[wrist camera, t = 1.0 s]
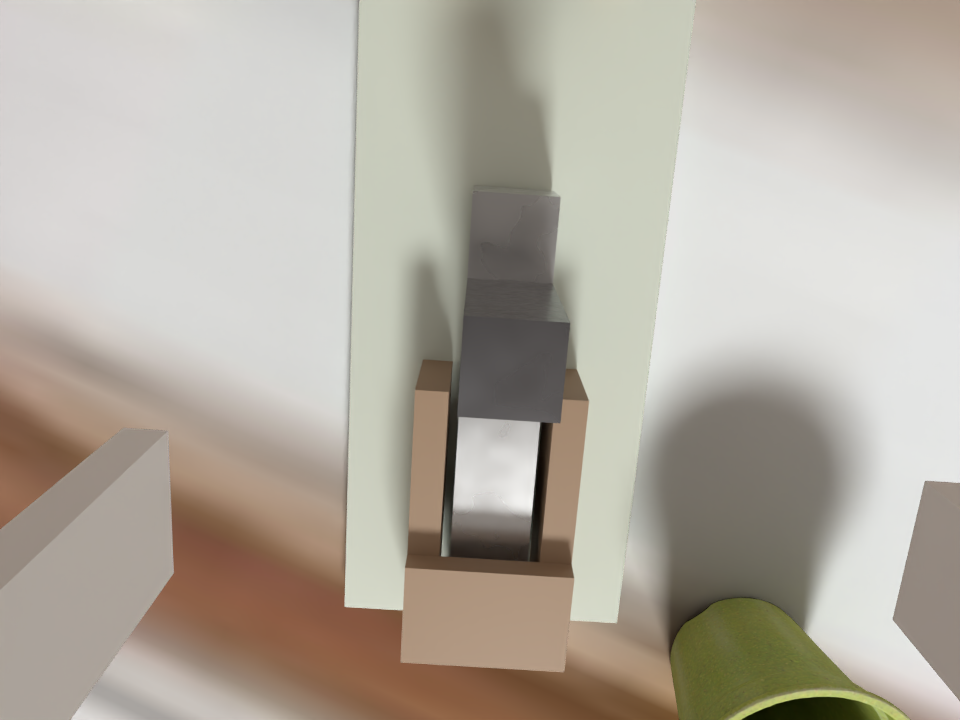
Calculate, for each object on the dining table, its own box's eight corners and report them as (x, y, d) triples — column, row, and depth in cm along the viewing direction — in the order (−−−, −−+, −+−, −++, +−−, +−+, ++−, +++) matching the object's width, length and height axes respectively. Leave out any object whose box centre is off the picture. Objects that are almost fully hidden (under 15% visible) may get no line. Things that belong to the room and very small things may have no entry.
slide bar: (448, 586, 35) (437, 734, 27) (473, 185, 31) (469, 207, 22) (517, 590, 35) (529, 740, 27) (553, 190, 31) (581, 214, 22)
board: (348, 591, 37) (321, 685, 31) (367, -158, 29) (336, -236, 23) (612, 607, 37) (638, 704, 31) (705, -133, 29) (765, -204, 23)
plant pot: (854, 566, 37) (963, 695, 28) (821, 741, 39) (912, 907, 31) (646, 557, 37) (694, 684, 28) (626, 734, 39) (664, 897, 31)
